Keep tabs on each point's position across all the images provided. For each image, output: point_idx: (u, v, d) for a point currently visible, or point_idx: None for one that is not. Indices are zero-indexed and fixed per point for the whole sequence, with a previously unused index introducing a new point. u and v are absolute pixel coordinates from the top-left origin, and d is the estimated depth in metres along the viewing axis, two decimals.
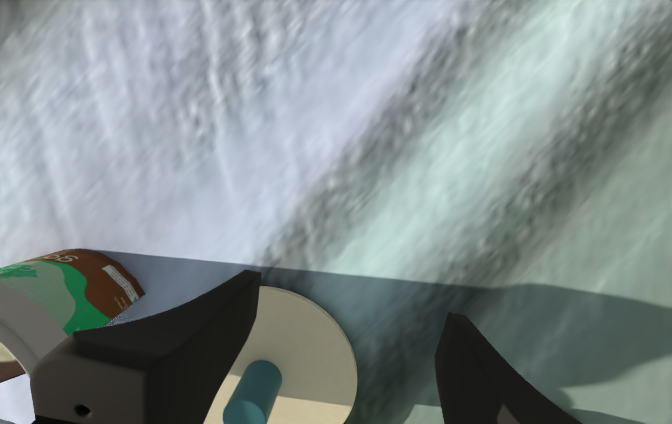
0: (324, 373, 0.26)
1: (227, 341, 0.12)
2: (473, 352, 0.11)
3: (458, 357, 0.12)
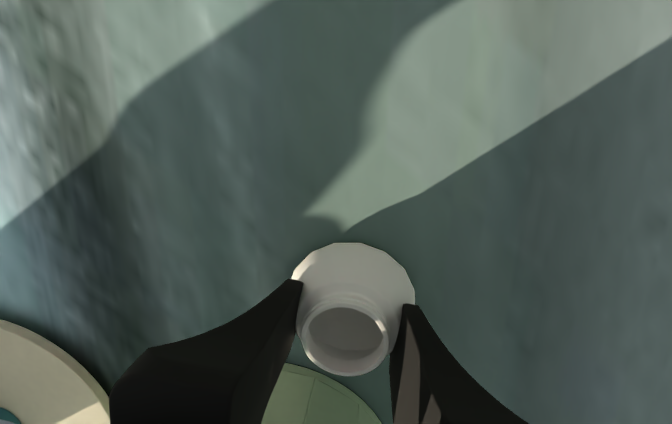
0: (38, 384, 0.18)
1: (278, 352, 0.12)
2: (415, 340, 0.11)
3: (405, 346, 0.12)
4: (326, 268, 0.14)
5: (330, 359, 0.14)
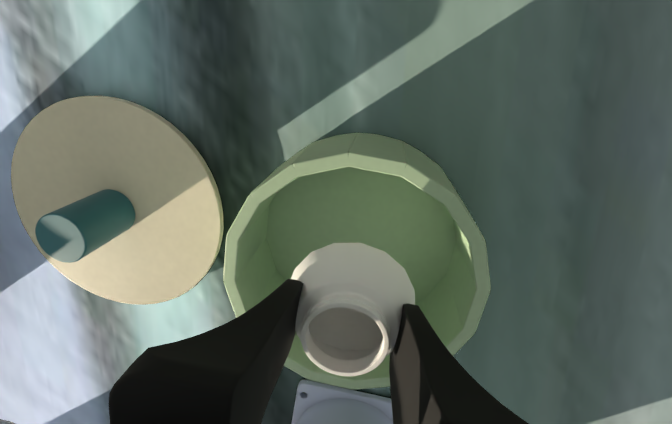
0: (154, 161, 0.21)
1: (278, 352, 0.12)
2: (415, 340, 0.11)
3: (405, 345, 0.12)
4: (326, 268, 0.14)
5: (330, 358, 0.14)
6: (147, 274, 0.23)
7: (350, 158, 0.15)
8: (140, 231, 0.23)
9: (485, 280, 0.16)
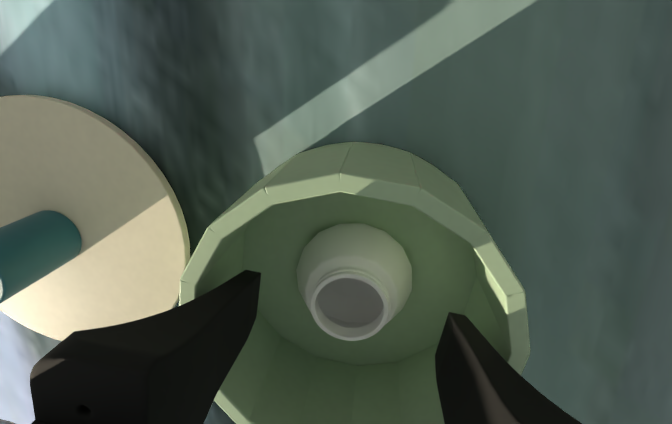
0: (101, 176, 0.17)
1: (227, 341, 0.12)
2: (473, 352, 0.11)
3: (458, 357, 0.12)
4: (333, 245, 0.16)
5: (336, 326, 0.16)
6: (99, 311, 0.19)
7: (342, 181, 0.11)
8: (89, 260, 0.18)
9: (523, 342, 0.12)
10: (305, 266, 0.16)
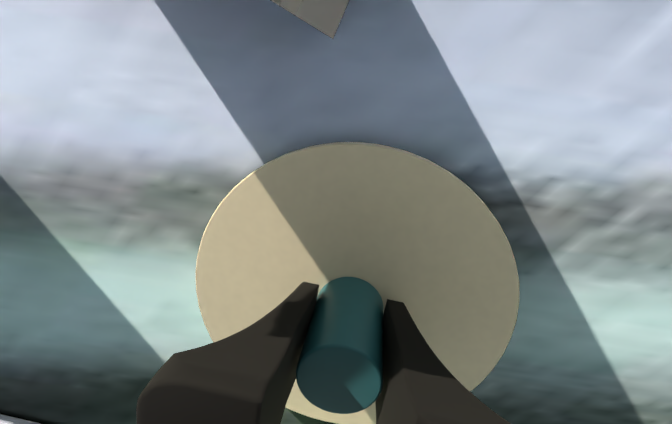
0: None
1: (296, 356, 0.12)
2: (397, 336, 0.11)
3: (388, 342, 0.12)
4: None
5: None
6: (251, 324, 0.16)
7: None
8: None
9: None
10: None
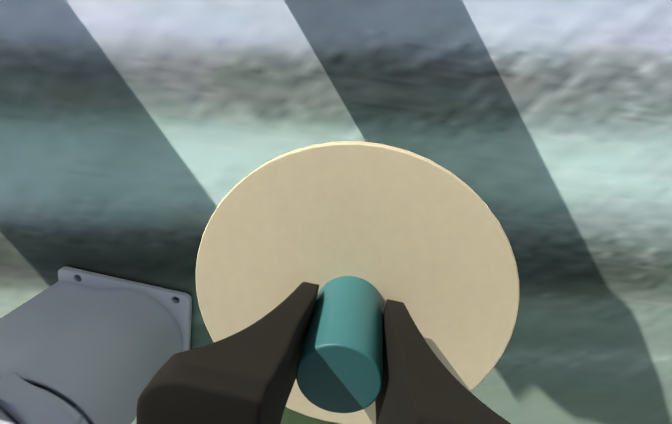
0: None
1: (296, 356, 0.12)
2: (397, 336, 0.11)
3: (388, 342, 0.12)
4: None
5: None
6: (251, 324, 0.16)
7: None
8: None
9: None
10: None
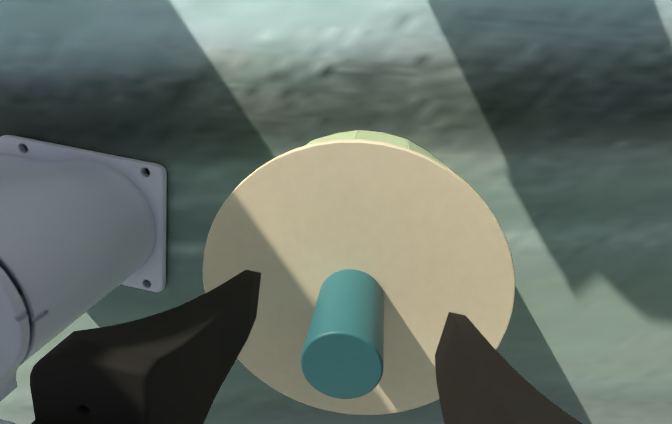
0: (419, 361, 0.16)
1: (227, 341, 0.12)
2: (473, 352, 0.11)
3: (458, 357, 0.12)
4: None
5: None
6: None
7: None
8: None
9: None
10: None
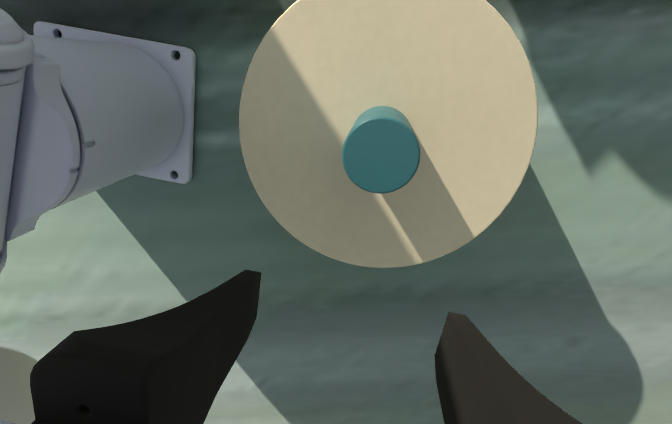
0: (444, 205, 0.17)
1: (227, 341, 0.12)
2: (473, 352, 0.11)
3: (458, 357, 0.12)
4: None
5: None
6: (289, 163, 0.17)
7: None
8: None
9: None
10: None
